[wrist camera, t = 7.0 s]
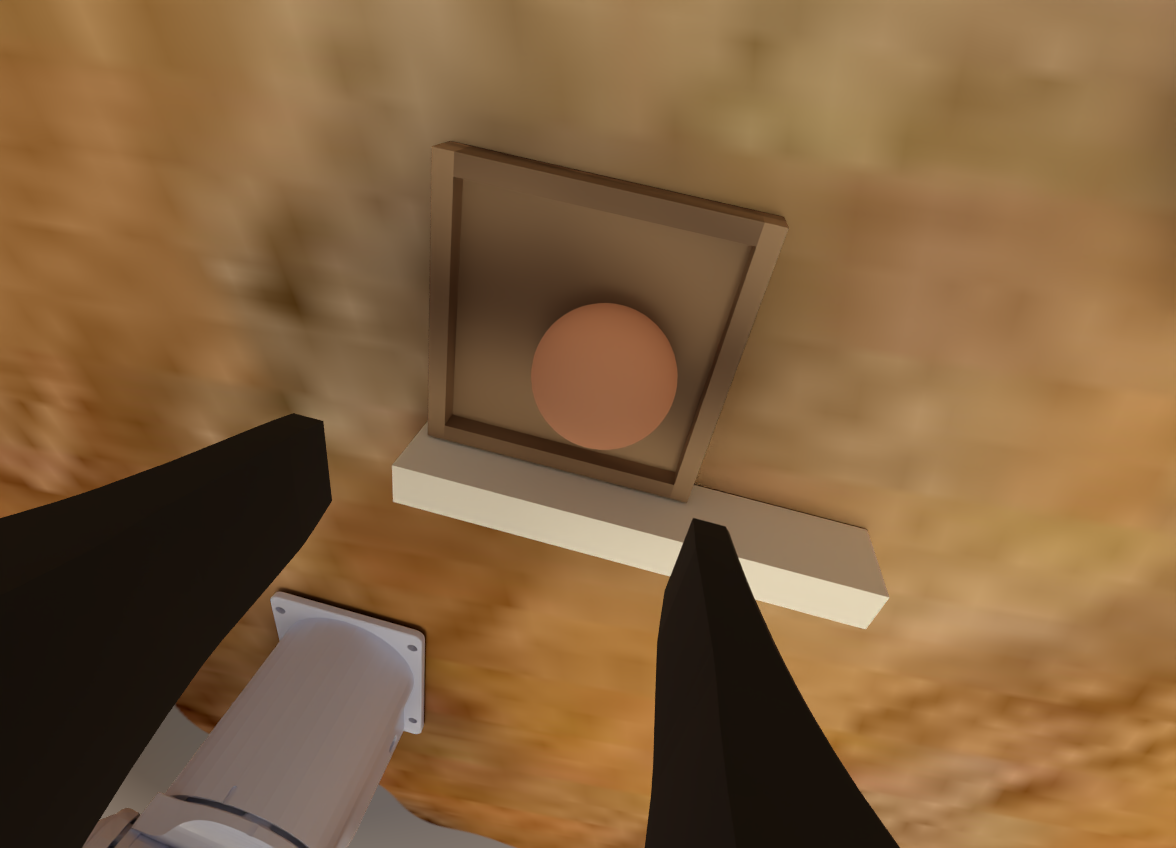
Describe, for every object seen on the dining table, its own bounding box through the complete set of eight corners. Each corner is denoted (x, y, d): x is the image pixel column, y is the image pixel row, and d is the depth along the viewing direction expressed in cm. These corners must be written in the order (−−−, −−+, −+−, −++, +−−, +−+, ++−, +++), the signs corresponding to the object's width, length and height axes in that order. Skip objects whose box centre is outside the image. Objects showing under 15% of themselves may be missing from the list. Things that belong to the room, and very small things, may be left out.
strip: (847, 560, 20) (865, 629, 18) (430, 450, 21) (393, 501, 19) (867, 529, 20) (889, 597, 17) (431, 416, 20) (391, 465, 18)
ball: (628, 397, 19) (681, 473, 16) (510, 401, 17) (543, 486, 14) (656, 282, 16) (723, 346, 13) (523, 276, 15) (565, 346, 12)
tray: (688, 481, 20) (687, 502, 19) (441, 417, 20) (427, 435, 19) (783, 216, 15) (789, 228, 14) (450, 141, 15) (431, 146, 14)
